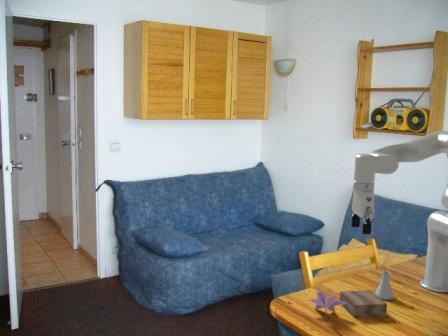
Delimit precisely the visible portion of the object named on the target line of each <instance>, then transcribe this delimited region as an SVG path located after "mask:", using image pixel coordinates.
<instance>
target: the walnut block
mask: <svg viewBox="0 0 448 336" xmlns="http://www.w3.org/2000/svg"><path fill="white" fill-rule="evenodd" d="M375 293H376V292H373V291H372V290H371V289H366V290H365V289H364V290H348V291H347V290H346V291H345V290H344V291H342V290H341V291H340V295H339V300H340V301H343V302H345V303H347V304H345V305H341V307H342V308H343V309H344V310H345V311H346V312H348V314H349V315H350V316H352V317H353V319H362V318H365V319H367V318H380V317H381V318H382V317H386V316H387V311H388V310H387V308H388V303H387V301H384V299H381V298H380V297H378V296H377V295H376V294H375Z"/></svg>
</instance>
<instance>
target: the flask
mask: <svg viewBox="0 0 448 336" xmlns="http://www.w3.org/2000/svg"><path fill="white" fill-rule="evenodd" d="M381 274H382V277H381V280H380V282H379V284H378V287H377V289H376V290H375V292H374V293H375V294H376V295H377V296H378V297H380V298H381V299H382V300H383V301H384V300H386V301H390V300H392V301H393V300H394V298H395V296H394V293H393V288H392V284H391V280H390V279H391V278H390V275H391V272H390V271H389V270H381Z"/></svg>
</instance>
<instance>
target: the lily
mask: <svg viewBox="0 0 448 336" xmlns="http://www.w3.org/2000/svg"><path fill="white" fill-rule="evenodd" d="M315 293H316V298H310V299H308V300H307V301H308V302H310V303H313V304H315V307H314V310H321V309H325V319H324V320H325V321H327V310H329V312H330V311H331V313H335V312H336V308H335V307H336V306H342V305H345V304H347V303H345V302H343V301H340V299H337V298H338V295H337V294H334V295H330V296H328V295H327V294H326V293H325V292H323V291H321V290H320V289H317V290H316V292H315Z"/></svg>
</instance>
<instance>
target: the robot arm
mask: <svg viewBox="0 0 448 336" xmlns="http://www.w3.org/2000/svg"><path fill="white" fill-rule="evenodd" d="M439 154H446V158H447V159H448V130H446V131H445V130H436V131H434V132H431V133H428V134H426V135H423V136H420V137H418V138H415V139H412V140H409V141H405V142H400V143H396V144H391V145H386V146H384V147H380V148H378V149H375V150H372V151H370V152H369V153H358V154H356V156H355V159H354V170H353V171H354V173H353V194H352V203H351V225H350V226H351V228H360V225H361V219H362V221H363V223H362V229H361V230H362V231H361V233H362V235H371V234H372V225H373V221H374V218H375V192H374V191H375V182H376V181H375V180H376V178H375V177H376V174H380V175H392V174H394V173H395V172H396V171H397V170H398V168H399V165H400V164H399V163H417V162H418V163H419V162H421V161H423V160H426V159H430V158H431V157H434V156H437V155H439ZM440 198H441V199H440V203H441V205H442V207H444V208H445V209H448V182H447V183H446V186H445V188H444V191H443V193H442V195H441V197H440ZM426 226H427V236H428V238H427V250H426V259H425V260H426V261H425V271H424V278H423V279H420V281H419V285H420V286H421V287H422V288H424V289H425V290H428V291H432V292H436V293H448V212H447V211H444V210H436V211H433V212H432V213H430V214H429V215H428V217H427V222H426Z"/></svg>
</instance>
